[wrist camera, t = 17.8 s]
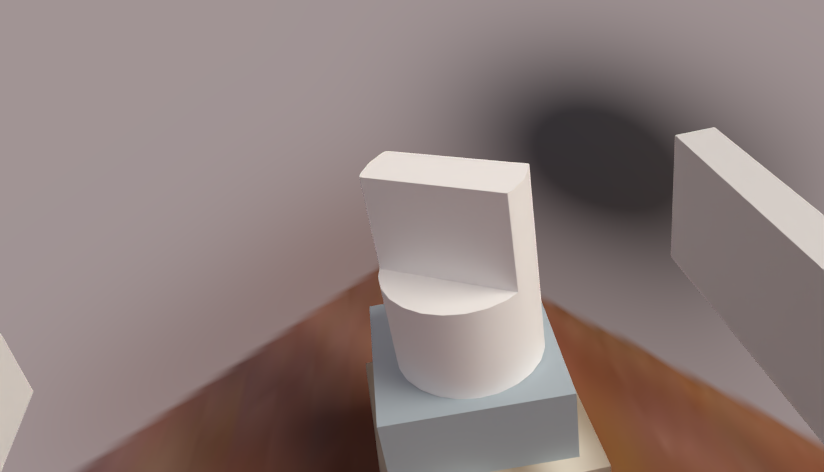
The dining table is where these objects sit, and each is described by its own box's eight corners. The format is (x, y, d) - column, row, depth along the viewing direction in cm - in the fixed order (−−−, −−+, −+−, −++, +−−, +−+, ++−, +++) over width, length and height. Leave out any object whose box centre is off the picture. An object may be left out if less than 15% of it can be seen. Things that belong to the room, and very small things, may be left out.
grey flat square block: (391, 488, 44) (376, 427, 42) (382, 362, 54) (369, 306, 51) (579, 456, 44) (576, 393, 42) (537, 336, 54) (532, 278, 51)
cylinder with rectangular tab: (565, 312, 47) (553, 137, 41) (512, 415, 41) (489, 227, 34) (435, 289, 51) (406, 126, 45) (369, 379, 45) (324, 205, 39)
